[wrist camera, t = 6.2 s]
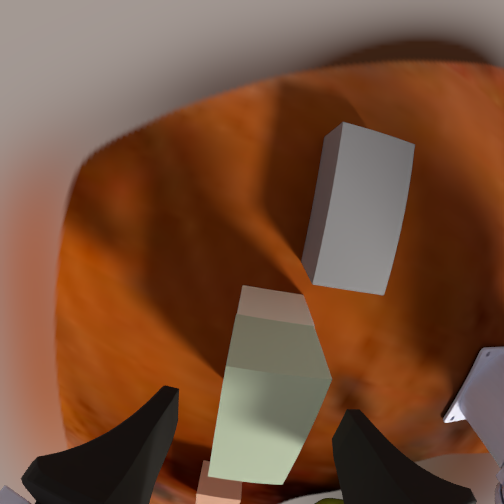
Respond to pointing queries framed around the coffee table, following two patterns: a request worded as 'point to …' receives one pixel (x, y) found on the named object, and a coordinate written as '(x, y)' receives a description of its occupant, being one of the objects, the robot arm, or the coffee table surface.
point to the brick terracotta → (217, 489)
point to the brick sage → (267, 399)
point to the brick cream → (274, 305)
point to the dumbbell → (330, 501)
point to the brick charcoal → (357, 209)
